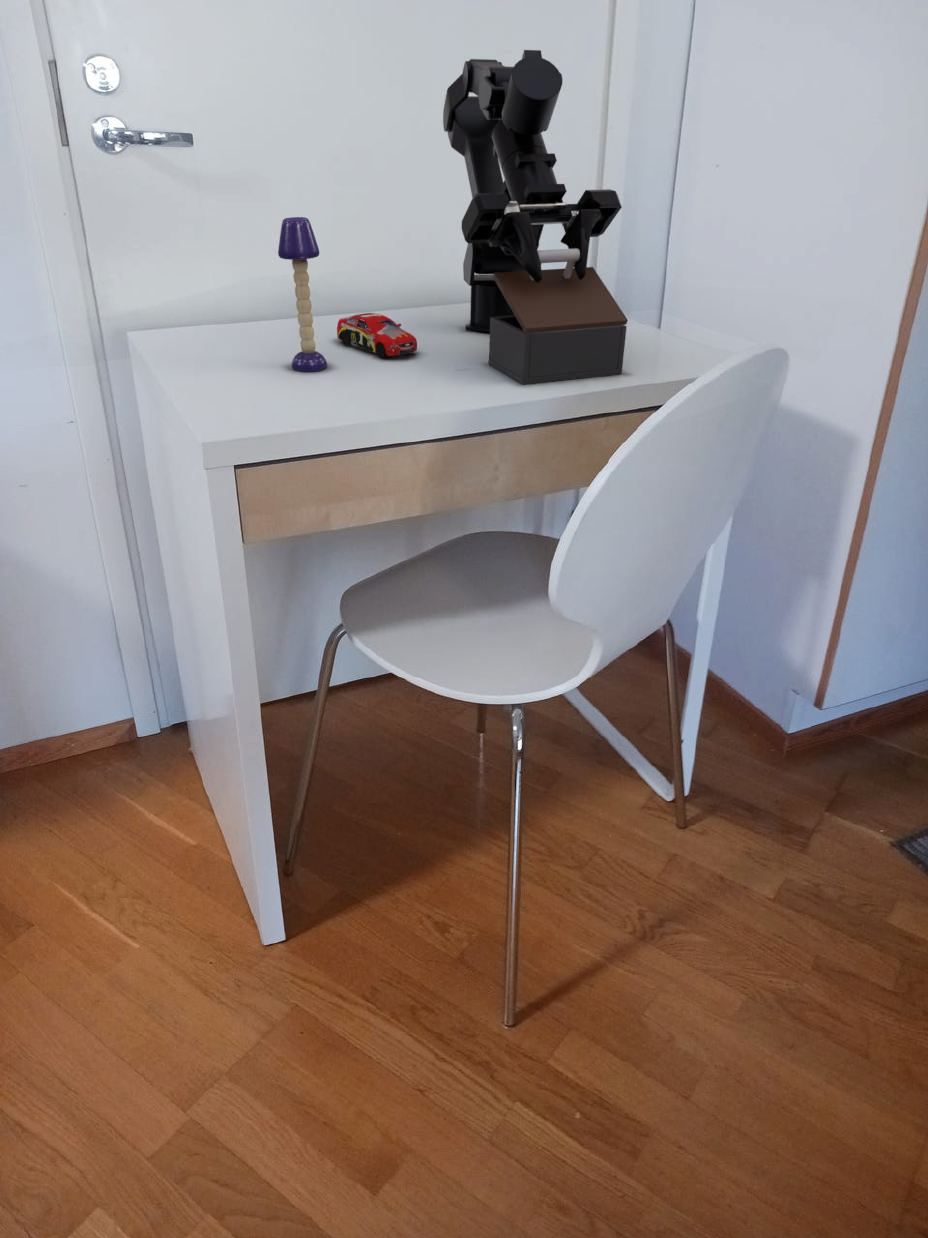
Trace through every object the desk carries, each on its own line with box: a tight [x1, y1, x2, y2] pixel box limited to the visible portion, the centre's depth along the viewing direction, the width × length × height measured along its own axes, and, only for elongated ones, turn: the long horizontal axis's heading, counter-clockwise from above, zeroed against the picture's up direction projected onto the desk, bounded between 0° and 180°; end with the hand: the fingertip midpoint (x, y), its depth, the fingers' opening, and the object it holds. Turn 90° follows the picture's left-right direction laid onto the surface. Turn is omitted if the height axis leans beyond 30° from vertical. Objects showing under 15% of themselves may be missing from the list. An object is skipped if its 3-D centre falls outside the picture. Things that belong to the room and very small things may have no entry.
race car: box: [336, 312, 418, 359], centre depth 122 cm, size 13×5×4 cm, turn 39°
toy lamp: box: [277, 216, 328, 373], centre depth 110 cm, size 5×5×17 cm
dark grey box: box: [488, 315, 627, 385], centre depth 115 cm, size 9×13×6 cm
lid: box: [493, 248, 629, 333], centre depth 110 cm, size 10×13×4 cm
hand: (561, 278), depth 111 cm, fingers closed on lid, 5 cm apart
